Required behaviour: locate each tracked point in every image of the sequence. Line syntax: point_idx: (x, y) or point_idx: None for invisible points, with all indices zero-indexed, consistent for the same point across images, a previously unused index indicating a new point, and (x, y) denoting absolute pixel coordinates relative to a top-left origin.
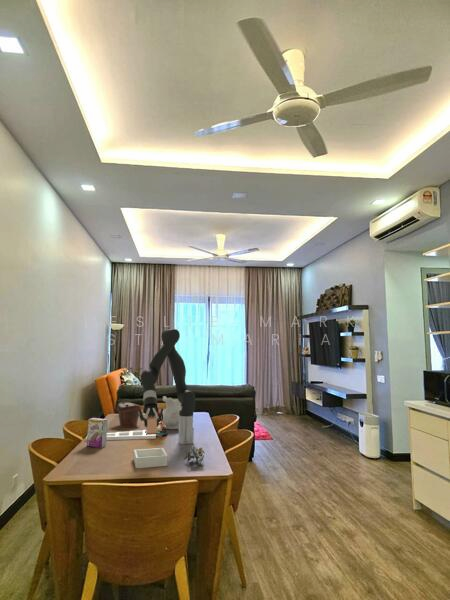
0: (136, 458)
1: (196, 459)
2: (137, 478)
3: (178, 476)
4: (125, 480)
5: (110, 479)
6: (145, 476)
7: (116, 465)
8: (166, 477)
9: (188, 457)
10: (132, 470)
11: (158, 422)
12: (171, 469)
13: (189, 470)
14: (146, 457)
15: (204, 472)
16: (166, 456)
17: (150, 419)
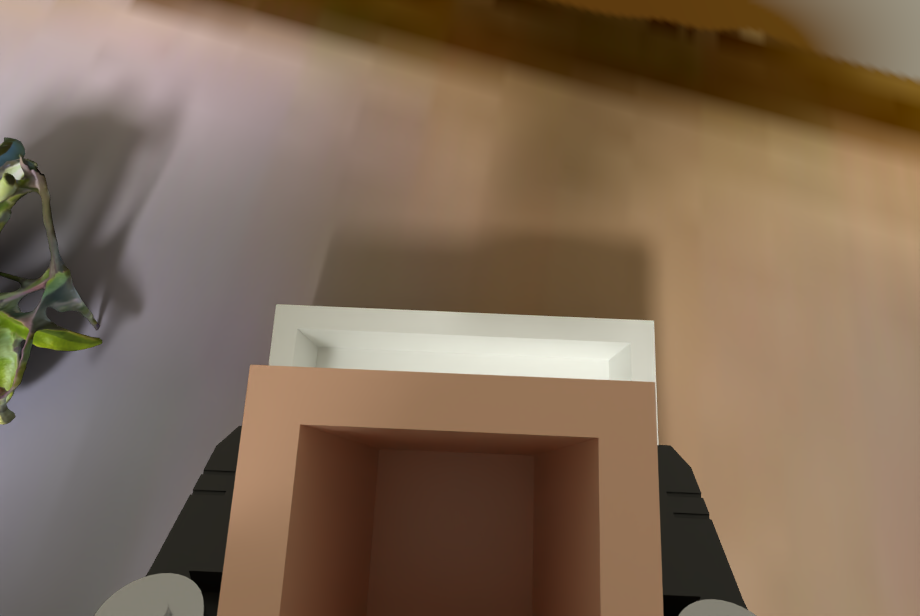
0: (650, 321)
1: (9, 151)
2: (625, 84)
3: (293, 34)
4: (723, 70)
5: (847, 125)
6: (556, 109)
7: (826, 512)
8: (392, 40)
9: (56, 244)
10: (659, 295)
11: (214, 476)
12: (297, 213)
13: (151, 140)
14: (532, 316)
15: (53, 58)
16: (291, 307)
17: (526, 382)
